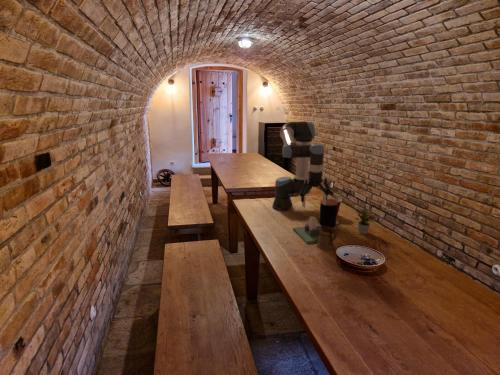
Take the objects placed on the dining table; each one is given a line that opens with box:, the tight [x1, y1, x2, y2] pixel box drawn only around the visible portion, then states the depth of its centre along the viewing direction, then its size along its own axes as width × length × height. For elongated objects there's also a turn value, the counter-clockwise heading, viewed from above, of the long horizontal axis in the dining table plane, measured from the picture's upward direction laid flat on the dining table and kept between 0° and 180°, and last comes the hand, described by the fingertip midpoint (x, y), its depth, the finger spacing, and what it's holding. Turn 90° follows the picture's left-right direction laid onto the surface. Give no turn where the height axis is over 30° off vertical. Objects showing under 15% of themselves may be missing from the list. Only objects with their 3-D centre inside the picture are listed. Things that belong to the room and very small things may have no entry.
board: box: [292, 222, 321, 245], centre depth 193 cm, size 20×16×6 cm
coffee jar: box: [318, 198, 338, 228], centre depth 202 cm, size 11×11×18 cm
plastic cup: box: [328, 197, 343, 216], centre depth 223 cm, size 11×11×12 cm
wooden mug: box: [316, 220, 343, 250], centre depth 175 cm, size 9×14×18 cm, turn 44°
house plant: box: [354, 207, 377, 235], centre depth 194 cm, size 14×14×16 cm
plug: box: [308, 216, 318, 232], centre depth 192 cm, size 5×3×10 cm, turn 17°
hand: (313, 205), depth 188 cm, fingers open, 13 cm apart
